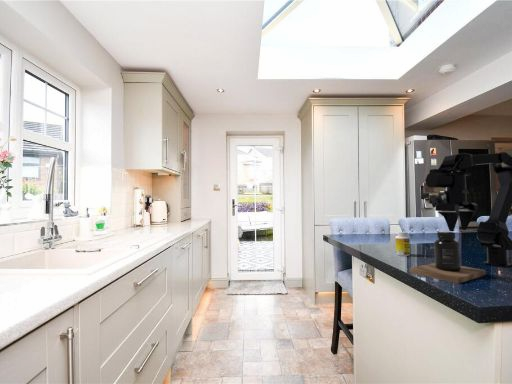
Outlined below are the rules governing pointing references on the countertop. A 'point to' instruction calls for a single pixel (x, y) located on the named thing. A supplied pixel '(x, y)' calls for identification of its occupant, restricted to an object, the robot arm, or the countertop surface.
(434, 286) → the countertop surface
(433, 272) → the walnut board
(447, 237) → the supplement bottle
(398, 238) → the supplement bottle
